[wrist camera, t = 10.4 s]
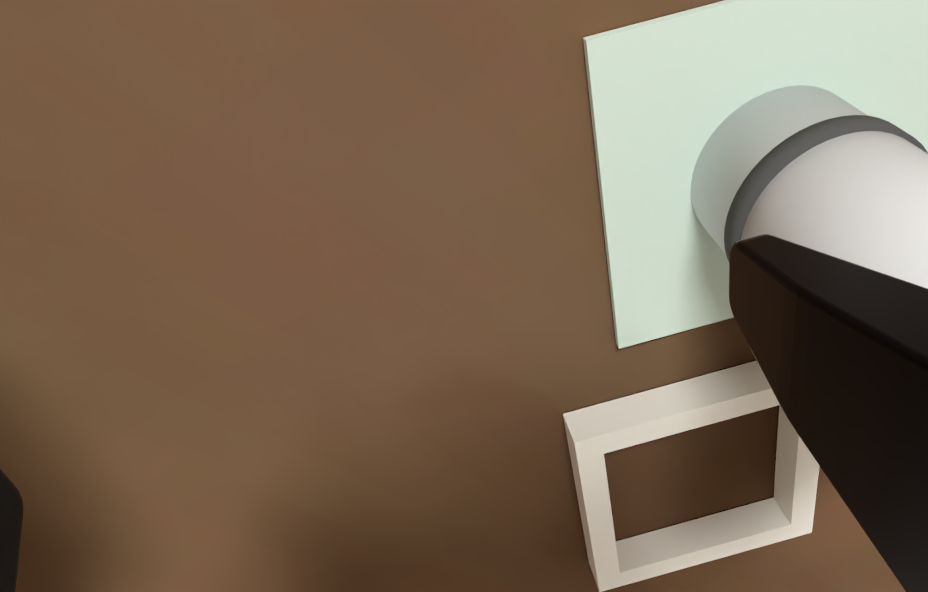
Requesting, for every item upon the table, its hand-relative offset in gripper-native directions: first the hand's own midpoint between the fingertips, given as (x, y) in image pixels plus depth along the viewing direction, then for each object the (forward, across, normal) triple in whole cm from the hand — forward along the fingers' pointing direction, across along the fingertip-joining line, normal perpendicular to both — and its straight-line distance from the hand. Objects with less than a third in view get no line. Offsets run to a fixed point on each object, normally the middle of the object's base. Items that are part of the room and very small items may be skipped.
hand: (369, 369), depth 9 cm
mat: (+13, -12, +7) cm, 19 cm away
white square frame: (+13, -9, +20) cm, 25 cm away
